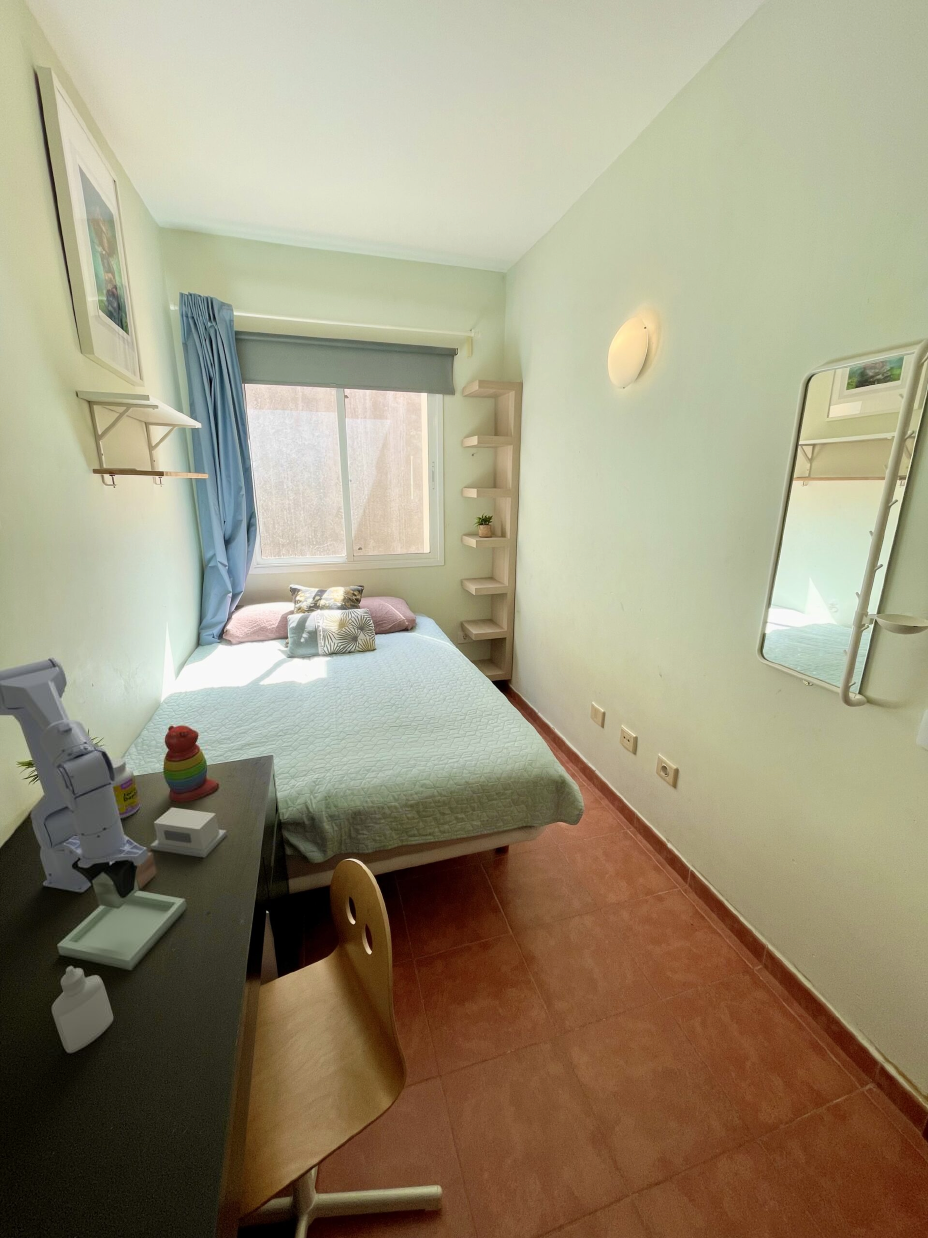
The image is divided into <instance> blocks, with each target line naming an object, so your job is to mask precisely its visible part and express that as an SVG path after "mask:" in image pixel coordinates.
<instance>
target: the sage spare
mask: <svg viewBox="0 0 928 1238" xmlns="http://www.w3.org/2000/svg"><path fill="white" fill-rule="evenodd" d="M92 882H93V886H94V888H93V889H94V892H95V893H94V894H95V895H96V899H97V903H98V906H106V907H111V908H116V909H119V908H120V907H121V906H123V905H124V904H125V903H126V902H127V901H128V900H129V899H130V898H131V897H132V896H133V895H134V894H135V893H136V892H137V891H140V889H139V888H138V884H137V880H136V876H135V885H134V890H133V891H132V892H131V893H130V894H129V895H128V896H127V897H125V898H121V897H120V896H119V894H118V892H117V890H116V887H115V885H114V883H113V881H112V880H111V879H110V878H109V877H108V876H107V875H106V874H104V873H103V872H102V873H101V874H100V875H98V876H97V877H96V878H95V879H94V880H92ZM93 886H92V887H93Z"/></svg>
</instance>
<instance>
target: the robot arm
mask: <svg viewBox="0 0 928 1238" xmlns="http://www.w3.org/2000/svg"><path fill="white" fill-rule="evenodd" d="M67 682H68V681H67V677H66V673H65V670H64V668H63V665H62V664H61V662H60V661H59V660H58V659H56V658H55V657H49V658H48V659H44V660H41V661H36V662H32V663H28V664H23V665H20V666H15V667H11V668H7V669H2V670H0V716H13V717H14V719H15V720H16V721H17V722H18V723H19V725H20V728H21V731H22V733H23V737H24V740H25V742H26V746H27V749H28V751H29V754H30V757H31V760H32V763H33V766H34V768H35V772H36V774H37V777H38V780H39V784H40V786H41V788H42V791H43V792H42V793H43V794H44V795H43V797H42V798H41V799H40V800H39V801H38V802H37V804H36V805H35V806H34V807H33V808H32V810H31V811H30V819H31V821H32V828H33V831H34V835H35V837H36V840H37V842H38V844H39V846H40V850H39V857H40V861H41V864H42V867H43V870H44V873H45V877H46V880H45V881H44V882H43V883H42V885H43V887H48V888H56V889H59V890H60V889H61V890H66V891H71V892H76V893H84V892H85V891H86V890H87V889H89V888H90V887H93V889H94V886H93V882H92V880H94V879H95V878H96V877H97V876H98V875H100V874H101V873H102V872H103V873H104V874H106V875H107V876H108V877H109V878H110V879H111V880H112V881H113V883H114V885H115V887H116V890H117V892H118V894H119V896H120V897H121V898H125V897H127V896H128V895H129V894H130V893H131V892H132V891H133V890H134V885H135V875H136V870H137V866H140V865H141V864H142V863H143V862H144V861H145V860H146V859H147V858H148V857H149V856H148V852H149V851H148V848H147V847H145V846H141V845H140V844H139V843H137V842H135V840H132V839H131V838H130V837H129V836H127V835H126V834H125V831H124V829H123V824H122V820H121V819H122V818H121V819H120V815H119V811H118V807H117V803H116V799H115V795H114V791H113V787H112V783H111V782H110V780H111V781H115V772H114V767H113V764H112V762H111V760H112V759H111V758H110V756H109V755H108V753H107V751H106V750H105V748H103V747H101V746H100V745H99V744H94V742H93V740H92V739H91V737H90V735H89V734H88V732H87V730H86V729H85V727H84V725H83V723H81V722H80V721H78V720H74V719H73V720H72V719H70V718H69V716H68V713H67V711H66V709H65V706H64V705H63V702H62V697H63V694H64V693H65V691H66V687H67V686H68V685H67V684H68V683H67Z"/></svg>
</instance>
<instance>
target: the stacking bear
mask: <svg viewBox="0 0 928 1238" xmlns="http://www.w3.org/2000/svg"><path fill="white" fill-rule="evenodd" d="M167 730H168V732H167V733H165V734H166V735H165V737H164V744H165V747H166V748H167V750H168V751H167V752H166V753H165V755H164V759H163V767H162V771H163V772H162V773H163V776H164V777H163V778H164V780H165V783H166V784H167V787H168V788H169V794H168V798H169V799H170V800H171V801H173V802H177V803H180V802H181V803H184V802H185V803H186V802H189V801H190V802H191V801H193V800H197V799H200V797H201V798H204V797H206V796H207V794H208V795H210V794H211V793H213V791H214V792H215V791H217V790H218V789H219V787H220V783H219V782H218V781H217V780H214V779H210V778H207V773H208V772H207V771H208V764H207V759H206V756H205V755H204V752H203V751H202V749H201V747H200V746H199V744H197V742H198V739H199V732H198V731H197V730H196V729H192V728H191V727H189V726H188V725H181V724H180V725H177V726H173V725H170V726H169V727H168V729H167ZM216 789H217V790H216ZM209 793H210V794H209ZM205 795H206V796H205Z"/></svg>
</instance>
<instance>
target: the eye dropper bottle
mask: <svg viewBox="0 0 928 1238" xmlns="http://www.w3.org/2000/svg"><path fill="white" fill-rule="evenodd" d="M60 985H61V988H62V991H63V992H61V994H60V995H59V996H58V997H57V998H56V999H55V1001H54V1002H53V1004H52V1005H51V1014H52V1016H53V1020H54V1022H55V1026H56V1028H57V1031H58V1034H59V1038H60V1040H61V1043H62V1046H63V1048H64V1050H65V1051H66V1053H68V1054H73V1053H76V1052H78V1051H79V1050H81V1049H83V1048H85V1047H86V1046H88V1045H90V1044H91V1043H92V1042H94V1041H95V1040H96V1039H98V1038H99V1037H100V1036H101V1035H102V1034H103V1033H104V1032H105V1031H106V1030H107V1029H108V1028H109V1027H110V1026H111V1024H112V1022H113V1021H114V1015H113V1011H112V1008H111V1003H110V1000H109V997H108V994H107V990H106V987H105V984H104V982H103V980H102V978H101V977H100V976H99V975H96V974H95V975H91V976H85V973H84V970H83V968H80V967H75V968H74V966H72V965H70V966H68V967H67V968H66V969H65V974H64V975H63V976H62V977H61V979H60Z"/></svg>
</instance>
